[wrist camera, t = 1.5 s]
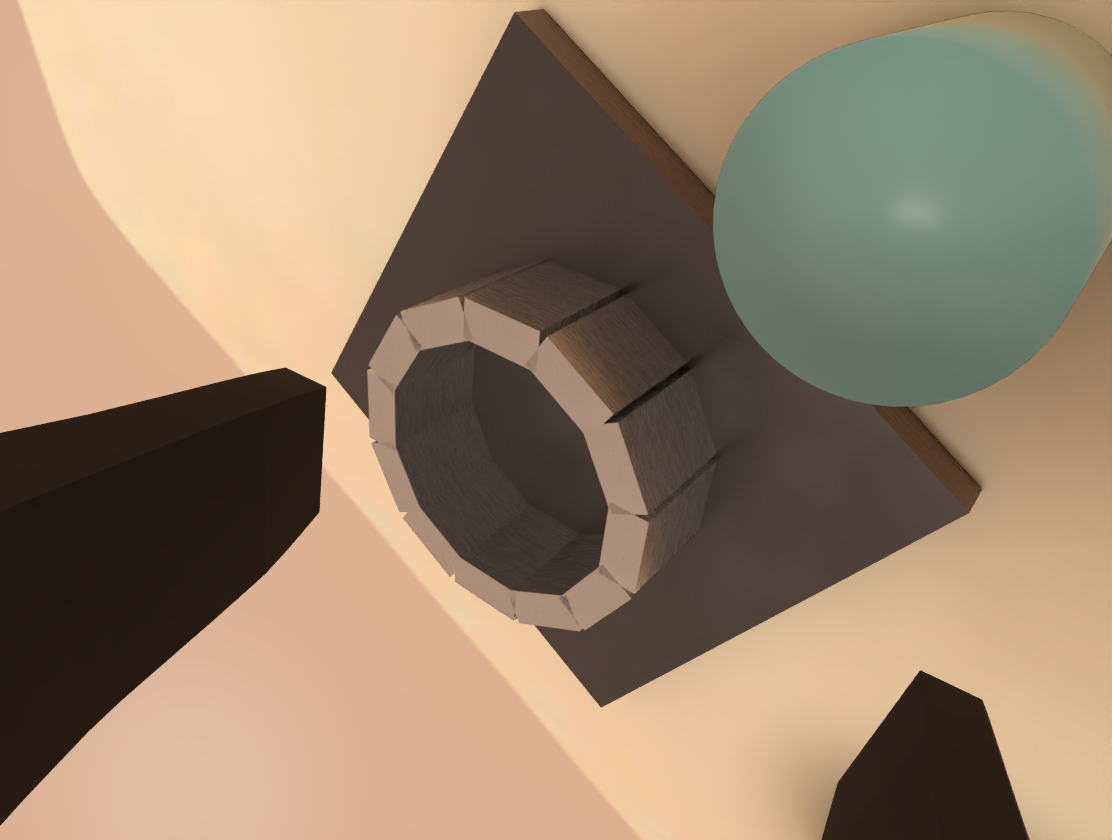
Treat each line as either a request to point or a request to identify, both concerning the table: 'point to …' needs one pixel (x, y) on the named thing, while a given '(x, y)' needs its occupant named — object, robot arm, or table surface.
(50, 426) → the robot arm
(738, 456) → the square base ring holder
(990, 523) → the table surface
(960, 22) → the teal rounded cylinder
